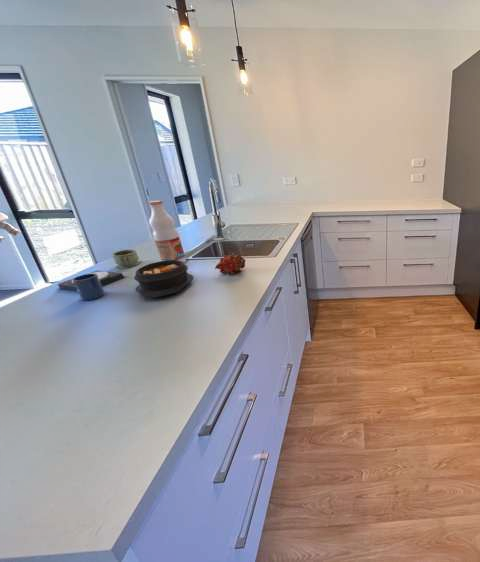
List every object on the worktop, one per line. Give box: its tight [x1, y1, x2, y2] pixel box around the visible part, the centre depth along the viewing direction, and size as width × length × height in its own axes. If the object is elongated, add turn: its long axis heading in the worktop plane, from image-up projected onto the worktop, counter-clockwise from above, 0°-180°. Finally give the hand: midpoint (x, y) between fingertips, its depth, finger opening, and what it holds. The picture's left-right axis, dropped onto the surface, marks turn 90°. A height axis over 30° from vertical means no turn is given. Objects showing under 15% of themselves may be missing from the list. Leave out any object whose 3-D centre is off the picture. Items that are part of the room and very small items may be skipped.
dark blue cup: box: [71, 273, 106, 301], centre depth 106 cm, size 6×6×8 cm
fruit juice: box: [148, 200, 187, 264], centre depth 132 cm, size 9×9×28 cm
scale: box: [57, 269, 124, 292], centre depth 118 cm, size 14×14×3 cm
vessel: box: [111, 248, 140, 269], centre depth 136 cm, size 12×9×6 cm
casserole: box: [133, 260, 194, 299], centre depth 112 cm, size 25×19×8 cm
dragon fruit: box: [214, 253, 246, 275], centre depth 125 cm, size 8×8×12 cm
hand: (10, 237), depth 92 cm, fingers open, 8 cm apart
